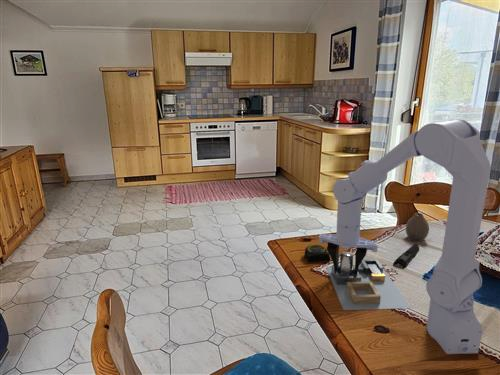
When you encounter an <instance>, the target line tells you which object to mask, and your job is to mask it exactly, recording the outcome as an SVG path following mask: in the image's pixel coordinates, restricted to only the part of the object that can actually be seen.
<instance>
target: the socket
mask: <svg viewBox="0 0 500 375" xmlns="http://www.w3.org/2000/svg"><path fill="white" fill-rule="evenodd" d="M368 264H375V265H376V266H377V268H378V269H379V270H380V272H381V273H383V269H384V267H383V265H382V264H381V263H380V261H379V260H378V259H376V258H375V259H374V258H372V259H371V258H369V259H365V258H364V259H363V260H362V262H361V263H360V266H361V267H359V268H358V273H357V275H355V274H354V269H355V264H353V269H352V274H353V276H339V274H338V273H340V264H339V266H338V269H337V271H335V270H334V265H331V267H332V271H331V272H332V275H333V277H334V279H335V282H336V284H337V285H347V282H361V276H360V274H359V273H365V275H369V267H368V266H367V265H368Z"/></svg>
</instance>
